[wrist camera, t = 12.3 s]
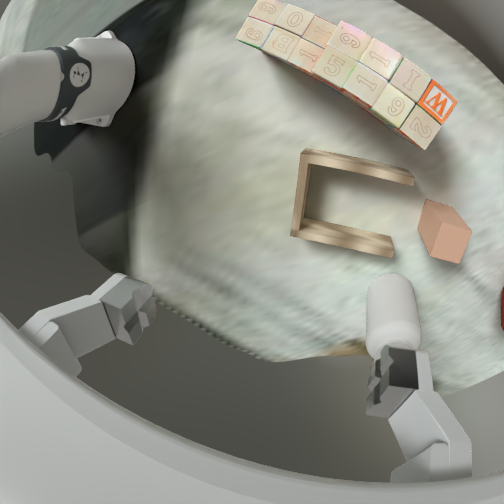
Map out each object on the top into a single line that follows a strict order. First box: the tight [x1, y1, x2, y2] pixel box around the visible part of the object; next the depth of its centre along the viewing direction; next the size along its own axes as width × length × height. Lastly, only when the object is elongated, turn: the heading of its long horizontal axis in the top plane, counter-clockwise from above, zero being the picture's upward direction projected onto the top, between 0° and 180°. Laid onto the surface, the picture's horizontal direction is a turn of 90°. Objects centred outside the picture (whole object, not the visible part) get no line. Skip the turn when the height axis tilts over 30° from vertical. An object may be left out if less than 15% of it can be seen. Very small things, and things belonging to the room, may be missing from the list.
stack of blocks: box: [236, 0, 457, 150], centre depth 23 cm, size 21×6×12 cm, turn 62°
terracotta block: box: [417, 199, 472, 264], centre depth 30 cm, size 4×4×8 cm
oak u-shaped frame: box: [290, 148, 415, 258], centre depth 34 cm, size 14×11×4 cm
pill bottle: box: [366, 273, 422, 363], centre depth 35 cm, size 8×8×15 cm
